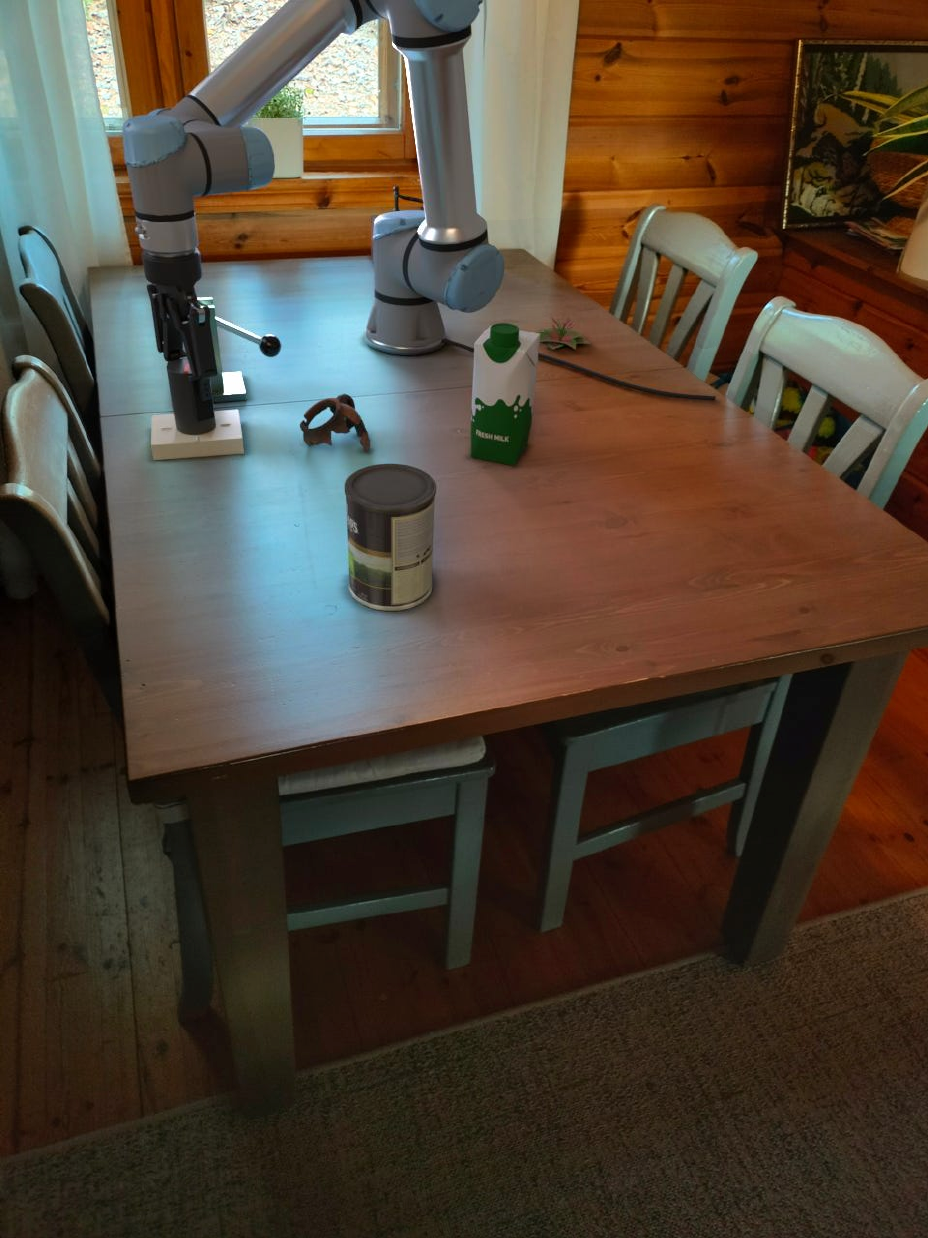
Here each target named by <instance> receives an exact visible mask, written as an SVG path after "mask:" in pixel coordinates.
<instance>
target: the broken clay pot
mask: <svg viewBox="0 0 928 1238" xmlns="http://www.w3.org/2000/svg"><path fill="white" fill-rule="evenodd" d="M328 408H329V412H331V413H332V416H331V417H330V418H329V419H328V420H327V421H325V422H324V423H323V424H320V425H319V426H316V427H313V428H309V427H310V424H311V422H312V421H313V420H314V419H315V417H317V416H318V415H320V414H321V413H322V412H324V411H326V410H328ZM303 418H304V419H305V420H306V421H305V420H304V419H303V420H301V422H300V423H299V429H300V431H301V432H302V440H303V442H304V443H305V444H306V445H309V446H318V445H321V444H326V445H329V446H333V443H332V432H333V433H335V434H344V435H347V434H349V433H350V432H351V429H352V428H354V430H355V433H356V437H357V438H361V439H360V440H359V442H360V444H361V446H362V449H363V452H365V453H367V452H368V451H369V449H370V447H371V439H370V438H369V432H368V431H367V428H366V425H365V423H364V420H363V419H362V416H361V415H360V414H359V413H358V412H357V410H356V405H355V400H354V399H353V398H352V396H350V395H349V394H348V393H342V394H339V395H337V397H328V398H323V399H321V400H319V401H317V402H316V403H314V404H313V405H312V406H311V407H309V408H308V409H307V410H306V411H305V413H304V414H303Z"/></svg>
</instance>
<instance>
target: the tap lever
mask: <svg viewBox="0 0 928 1238" xmlns="http://www.w3.org/2000/svg"><path fill="white" fill-rule="evenodd" d="M198 304H199V303H198ZM199 305H200V306H203V305H201V304H199ZM216 324H217V328H220V329H223V330H225V331H227V332H229V333H232V334H233V335H236V336H238V337H240V338H242V339H245V340H247V341H248V342H251V343H253V344H256V345H258V347H259V350H260V352H261V354H262V355H263V356H264V357H267V358H274V357H277V356H278V355H279V354H280V352H281V350H282V342H281V340H280V339H279V337H277V336H276V335H274V334H265V335H264V336H261V337H260V336H259V335H256V334H254V333H253V332H250V331H248V330H245V329H244V328H241V327H239V326H237V325H235V324H232V323H230V322H228V321H226V320H224V319H222V318H219V317H217V316H216Z"/></svg>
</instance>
